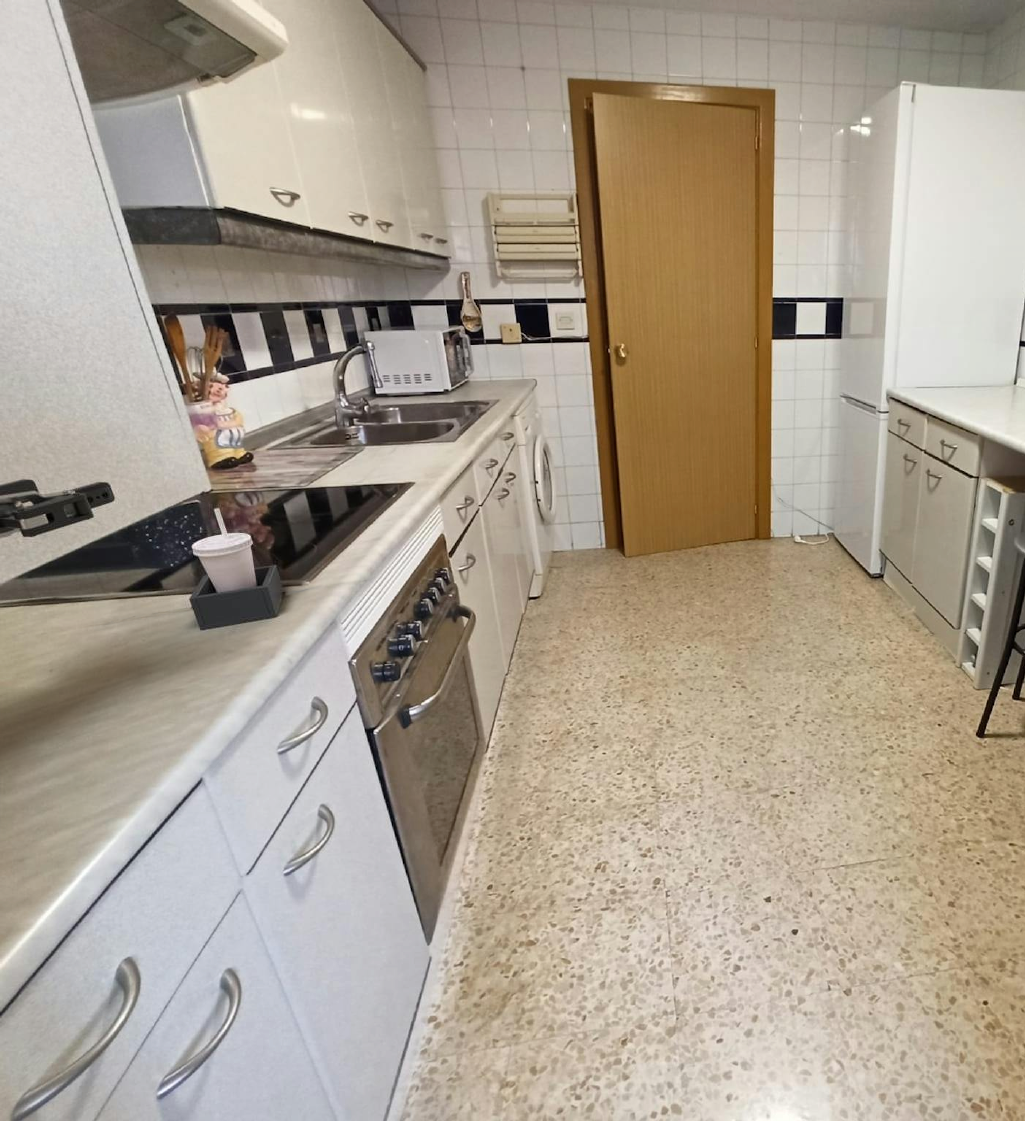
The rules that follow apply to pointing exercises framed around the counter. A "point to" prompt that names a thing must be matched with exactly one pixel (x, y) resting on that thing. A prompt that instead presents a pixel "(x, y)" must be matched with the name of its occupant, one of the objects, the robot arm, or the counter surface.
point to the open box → (238, 600)
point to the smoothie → (227, 559)
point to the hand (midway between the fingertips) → (71, 489)
